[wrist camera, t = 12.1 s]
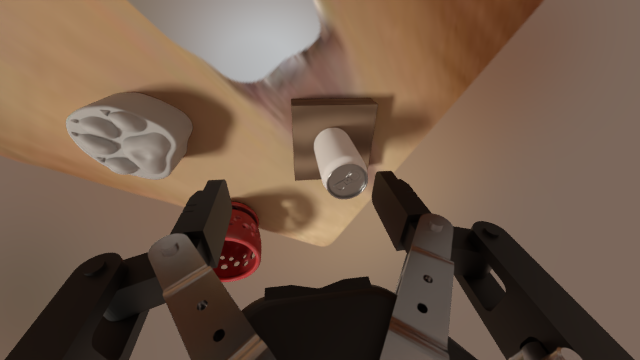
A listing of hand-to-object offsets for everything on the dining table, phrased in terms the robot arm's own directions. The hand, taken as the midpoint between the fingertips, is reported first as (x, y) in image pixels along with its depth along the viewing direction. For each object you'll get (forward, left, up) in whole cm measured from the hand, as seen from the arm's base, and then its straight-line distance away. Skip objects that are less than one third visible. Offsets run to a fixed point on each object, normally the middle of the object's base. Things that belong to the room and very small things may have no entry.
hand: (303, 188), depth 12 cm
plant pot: (+29, -14, -30) cm, 44 cm away
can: (+10, +7, -26) cm, 29 cm away
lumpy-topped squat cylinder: (+7, -24, -30) cm, 39 cm away
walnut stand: (+10, +7, -30) cm, 32 cm away
